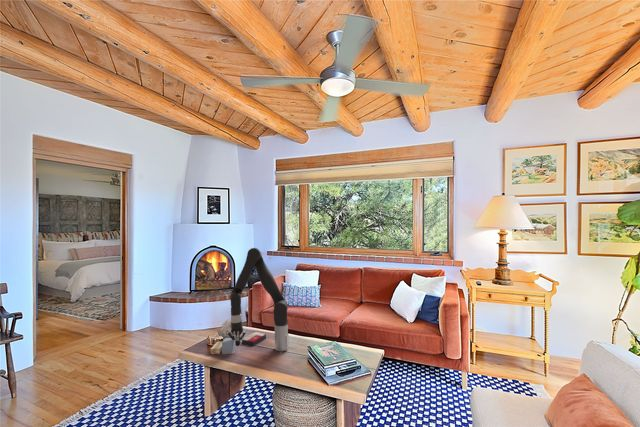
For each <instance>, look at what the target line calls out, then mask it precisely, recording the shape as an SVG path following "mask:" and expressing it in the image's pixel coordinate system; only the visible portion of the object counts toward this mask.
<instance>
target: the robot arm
mask: <svg viewBox="0 0 640 427" xmlns="http://www.w3.org/2000/svg"><path fill="white" fill-rule="evenodd" d="M253 268H255V270H256V273H257V276H258V279H259V282H260V283H261V285H262V287H263V288H264V290H265V291H266V292H267V293H268V295H270V297H271V299H272V302H273V303H274V306H273V321H274V350H275V351H276V352H284V351H288V349H289V343H290V342H289V340H290V339H289V333H288V332H289V331H288V330H289V325H288V324H289V323H288V321H289V320H288V309H289V305H288V301H287V300H286V299H285V298H284V296H283V294H282V293H281V290H280V288H279V286H278V284H277V281H276V280H275V277H274V276H273V274H272V271H270V269H269V268H268V266H267V264H266V263H265V260H264V258H263V255H262V252H261V250H260V249H259V248H257V247H252V248H250V249H248V251H247V254H246V259H245V262H244V265H243V267H242V269H241V272H240V274H239V276H238V278H237V281H236V283H235V285H234V287H233V288H232V290H231V292H230V295H229V297H230V320H231V331H230V332H229V333H228V335H229V336H230V337H231V339H232V340H235V347H239V346H240V345H241V341H242V340H243V339H244V338H245V337H244V336H245V335H246V334H247V331H245V330H244V327H243V315H242V294H243V291H244V290H245V288H246V286H247V284H248V282H249V279H250V277H251V273H252V272H253V271H252V270H253Z"/></svg>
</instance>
